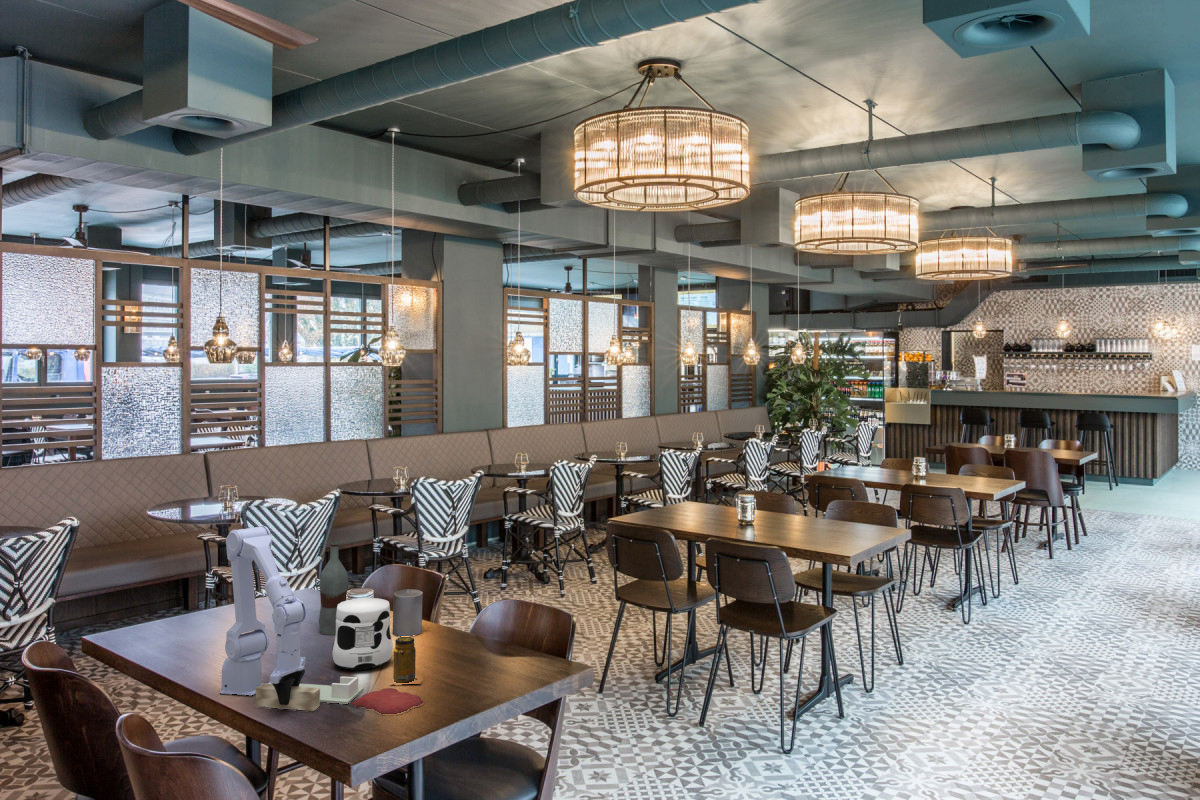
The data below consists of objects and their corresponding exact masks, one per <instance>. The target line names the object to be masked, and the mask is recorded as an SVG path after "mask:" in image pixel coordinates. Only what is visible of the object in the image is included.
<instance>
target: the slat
mask: <svg viewBox="0 0 1200 800" xmlns="http://www.w3.org/2000/svg"><path fill="white" fill-rule="evenodd" d="M320 704H321V703H320V688H309V687H296V686H292V688H291V692H290V700H289V704H288V705H280V703H279V700H278V696H277V692H276V690H275V688H274V686H273V685H270V684H267V683H264V684H262V685H260V686H258V687H257V688H256V694H255V707H256V706H265V707H273V708H289V709H298V710H308V711H314V710H316V709H317V708H318V707H319V706H320ZM318 709H319V708H318ZM318 709H317V710H318ZM317 710H316V711H317ZM308 711H307V712H308Z"/></svg>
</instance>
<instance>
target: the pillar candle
mask: <svg viewBox="0 0 1200 800" xmlns="http://www.w3.org/2000/svg"><path fill="white" fill-rule="evenodd" d="M423 593H424V592H423V591H421V590H419V589H411V588H410V589H409V588H407V589H401V590H399V589H398V590H397V591H394V592H393V599H392V600H393V601H392V602H393V605H392V607H393V608H392V635H393V636H394V635H395V637H398V636H412V637H414V636H413V635H417V634H418V635H420V634H422V633H423V631H422V630H423V627H422V626H423V622H422V621H423ZM418 635H417V636H418Z"/></svg>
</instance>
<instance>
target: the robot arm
mask: <svg viewBox="0 0 1200 800" xmlns="http://www.w3.org/2000/svg"><path fill="white" fill-rule="evenodd" d="M272 544H273V537H272V533H271V531H270V529H269V528H268V526H265V525H261V526H257V527H248V528H241V529H231V530H230V532H229V533H228V535H227V537H226V539H225V545H226V556H227V560H228V561H230V566H231V577H232V579H231V580H232V590H233V602H234V603H233V604H234V613H235V615H234V616H235V623H234V624H233V625H231V627H230V628H228V630H227V631H226V632H225V634H226V639H225V644H224V650H225V653H226V656H227V658H225V660H224V661H223V664H222V667H221V688H220V689H221V690H220V691H219V694H220V693H221V695H232V694H237V695H236V696H246V695H249V697H251V696H252V695H253V696H255V695H256V688H257V687H258V686H260V685H262V684H265V683H263V682H262V657H263V656H265V653H266V652H267V650H268V648H269V646H270V637H269V634H268V632H267V628H266V627H267V626H266V624H265V623H263V622H262V621H259V619H257V608H256V595H255V585H254V584H255V583H254V574H253V573H254V571H253V561H254V563H255V564H256V565H257V567H258V569H259V572H260V574H261V575H262V577H263V578H264V580H265V585H264V591H265V594H266V596H267V598H268V600H269V602H270V604H271V606H272V608H273V611H272V614H271V617H272V623H273V624H274V632H275V633H276V664H275V665H276V666H275V667H274V669H273V671H272V673H271V674H270V675H269V682H270V683H272V684H273V686H274V688H275V690H276V692H277V696H278V700H279V703H280V705H288V704H289V700H290V692H291V688H292V686H296V687H299V684H301V681H302V679H303V677H304V674H305V673H306V670H305V665H306V662H307V660H306V657H305V656H301V639H302V637H301V634H302V632H301V631H302V628H301V626H302V622H304V620H305V619H306V615H307V608H306V606H305V604H304V602H303V601H302V599H299V597H297V596H295V595H294V592H293V589H292V588H291V586H290V583H289V582H288V580H287V578H286V577H285V576H283V575H282V576H281V575H280V572H279V570H278V567H277V564H276V562H275V558H274V556H273V551H272V550H271V547H272Z"/></svg>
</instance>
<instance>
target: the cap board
mask: <svg viewBox="0 0 1200 800" xmlns="http://www.w3.org/2000/svg"><path fill="white" fill-rule="evenodd" d="M299 687H309V688H320V702H327V703H326V704H329V703H339V704H338V705H343V704H348V703H349V704H350V703H352V702H353V701H354V700H355V699H356V698H357V697H358V696H359V695H361V694H362V693H363V692H364V691H363V690H364V689H365V688H364V687H359V686H358V691H357V692H356V693H355V694H353V695H352V696H351V697H350V698H349V699H348V698H334V697H331V690H332V685H329V684H328V685H327V684H313V683H312V684H311V683H300V684H299ZM362 691H363V692H362ZM361 692H362V693H361ZM360 693H361V694H360ZM358 694H359V695H358ZM357 695H358V696H357ZM356 696H357V697H356ZM355 697H356V698H355ZM354 698H355V699H354ZM353 699H354V700H353ZM352 700H353V701H352ZM351 701H352V702H351ZM349 704H348V705H349Z"/></svg>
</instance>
